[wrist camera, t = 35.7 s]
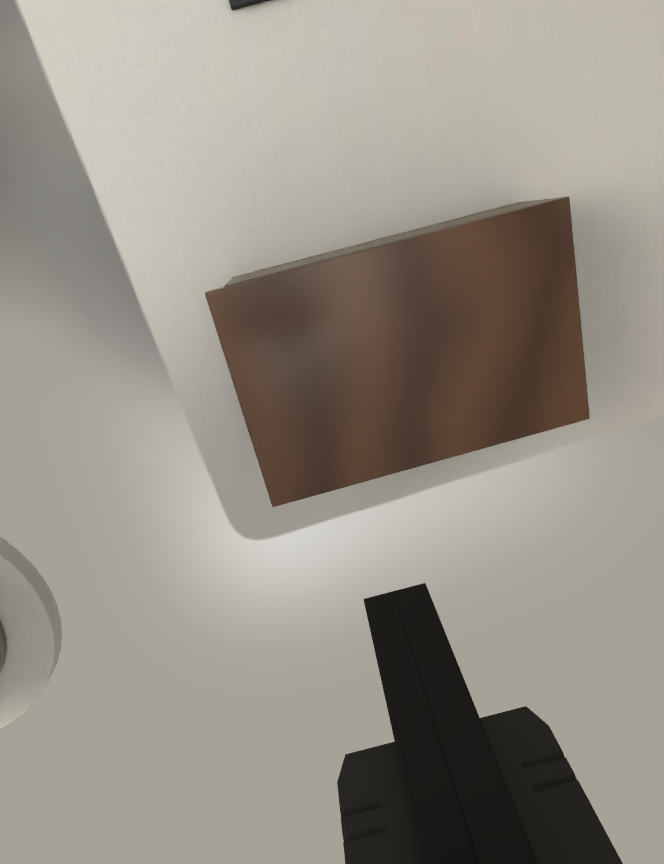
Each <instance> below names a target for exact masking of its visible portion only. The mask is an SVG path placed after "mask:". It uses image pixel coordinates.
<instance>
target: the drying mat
mask: <svg viewBox="0 0 664 864" xmlns="http://www.w3.org/2000/svg"><path fill="white" fill-rule="evenodd" d="M229 1H230V5H231V9H232V10H235V9H238V8H242V7H246V6H250V5H253V4H257V3H261V2H265V1H268V0H229Z"/></svg>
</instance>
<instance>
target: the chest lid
mask: <svg viewBox="0 0 664 864" xmlns="http://www.w3.org/2000/svg"><path fill="white" fill-rule="evenodd" d="M205 295H206V298H207V301H208V305H209V308H210V311H211V314H212V317H213V320H214V324H215V327H216V330H217V333H218V336H219V339H220V342H221V346H222V349H223V352H224V355H225V358H226V361H227V364H228V368H229V371H230V374H231V377H232V380H233V383H234V387H235V390H236V393H237V396H238V399H239V402H240V405H241V409H242V412H243V415H244V418H245V421H246V424H247V428H248V431H249V434H250V437H251V440H252V443H253V446H254V450H255V453H256V456H257V459H258V462H259V465H260V468H261V472H262V475H263V478H264V481H265V484H266V487H267V491H268V494H269V497H270V500H271V503H272V506H273V507H275V506H279V505H282V504H286V503H289V502H293V501H297V500H300V499H304V498H307V497H311V496H314V495H318V494H322V493H325V492H329V491H332V490H336V489H340V488H343V487H347V486H350V485H354V484H357V483H361V482H365V481H368V480H372V479H375V478H379V477H382V476H386V475H390V474H393V473H397V472H400V471H404V470H408V469H411V468H415V467H418V466H422V465H425V464H429V463H433V462H436V461H440V460H443V459H447V458H450V457H454V456H458V455H461V454H465V453H468V452H472V451H475V450H479V449H483V448H486V447H490V446H493V445H497V444H501V443H504V442H508V441H511V440H515V439H518V438H522V437H526V436H529V435H533V434H536V433H540V432H543V431H547V430H551V429H554V428H558V427H561V426H565V425H569V424H572V423H576V422H579V421H583V420H586V419H589V407H588V396H587V385H586V374H585V363H584V353H583V342H582V331H581V320H580V309H579V298H578V287H577V277H576V266H575V255H574V244H573V233H572V222H571V212H570V201H569V197H562V198H558V199H555V200H551V201H547V202H543V203H540V204H536V205H532V206H528V207H524V208H521V209H517V210H513V211H509V212H506V213H502V214H498V215H494V216H491V217H487V218H483V219H479V220H475V221H472V222H468V223H464V224H460V225H457V226H453V227H449V228H445V229H442V230H438V231H434V232H430V233H426V234H423V235H419V236H415V237H411V238H408V239H404V240H400V241H396V242H393V243H389V244H385V245H381V246H377V247H374V248H370V249H366V250H362V251H359V252H355V253H351V254H347V255H344V256H340V257H336V258H332V259H328V260H325V261H321V262H317V263H313V264H310V265H306V266H302V267H298V268H295V269H291V270H287V271H283V272H279V273H276V274H272V275H268V276H264V277H261V278H257V279H253V280H249V281H246V282H242V283H238V284H234V285H230V286H227V287H223V288H219V289H215V290H212V291H208V292H206V293H205Z"/></svg>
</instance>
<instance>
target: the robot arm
mask: <svg viewBox="0 0 664 864" xmlns="http://www.w3.org/2000/svg"><path fill="white" fill-rule="evenodd" d="M364 603H365V607H366V612H367V617H368V621H369V626H370V630H371V635H372V640H373V644H374V648H375V653H376V658H377V662H378V667H379V671H380V676H381V681H382V685H383V690H384V694H385V699H386V703H387V708H388V712H389V717H390V722H391V726H392V731H393V735H394V740H395V742H392V743H388V744H384V745H381V746H377V747H373V748H369V749H365V750H361V751H357V752H353V753H349V754H346V755H345V758H344V761H343V765H342V769H341V772H340V775H339V778H338V782H337V783H338V793H339V803H340V812H341V823H342V833H343V839H344V853H345V863H346V864H623V863H622V862H621V860H620V858H619V856H618V854H617V852H616V850H615V848H614V847H613V845H612V843H611V841H610V839H609V837H608V835H607V834H606V832H605V830H604V828H603V826H602V824H601V822H600V821H599V819H598V817H597V815H596V813H595V811H594V809H593V807H592V806H591V804H590V802H589V800H588V798H587V796H586V795H585V793H584V791H583V789H582V787H581V785H580V783H579V782H578V780H577V779H576V777H575V774H574V772H573V770H572V768H571V766H570V765H569V763H568V761H567V759H566V758H565V757H564V755H563V752H562V750H561V748H560V746H559V744H558V742H557V740H556V739H555V737H554V735H553V733H552V731H551V729H550V727H549V726H548V725H547V724H546V723H545V722H544V721H542V720H541V719H540V718H539V717H538V716H537V715H536V714H534V713H533V712H532V711H531V710H530V709H529V708H527V707H521V708H518V709H514V710H510V711H506V712H502V713H498V714H495V715H491V716H487V717H483V718H479V716H478V713H477V711H476V708H475V706H474V703H473V701H472V698H471V696H470V693H469V691H468V688H467V686H466V683H465V681H464V678H463V676H462V673H461V671H460V668H459V666H458V664H457V661H456V658H455V656H454V653H453V651H452V649H451V646H450V644H449V641H448V639H447V636H446V634H445V632H444V629H443V626H442V624H441V622H440V619H439V616H438V614H437V611H436V609H435V607H434V604H433V601H432V599H431V596H430V594H429V592H428V589H427V587H426V584H425V583H424V584H420V585H416V586H412V587H409V588H405V589H401V590H397V591H393V592H389V593H386V594H381V595H378V596H374V597H370V598H366V599H364ZM6 653H7V643H6V636H5V632H4V629H3V626H2V623H1V621H0V673H1V671H2V669H3V666H4V663H5V660H6Z"/></svg>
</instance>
